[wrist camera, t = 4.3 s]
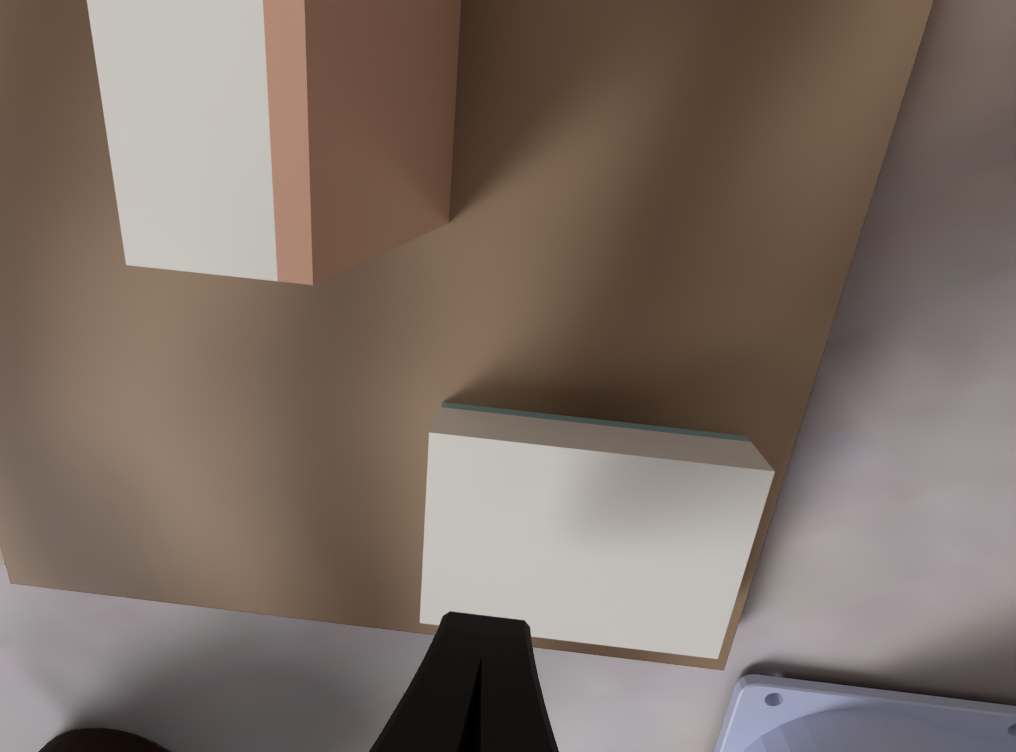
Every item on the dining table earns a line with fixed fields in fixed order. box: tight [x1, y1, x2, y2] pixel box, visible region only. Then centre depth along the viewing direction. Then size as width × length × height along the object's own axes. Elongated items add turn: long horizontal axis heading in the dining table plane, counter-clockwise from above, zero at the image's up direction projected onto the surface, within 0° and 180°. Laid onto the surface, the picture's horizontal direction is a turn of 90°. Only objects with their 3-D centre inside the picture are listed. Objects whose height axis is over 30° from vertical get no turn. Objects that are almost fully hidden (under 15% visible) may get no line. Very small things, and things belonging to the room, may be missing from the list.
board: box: [0, 0, 934, 670], centre depth 12 cm, size 20×18×1 cm
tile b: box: [87, 0, 461, 285], centre depth 7 cm, size 2×5×7 cm, turn 174°
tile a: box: [420, 402, 775, 659], centre depth 12 cm, size 2×5×7 cm
